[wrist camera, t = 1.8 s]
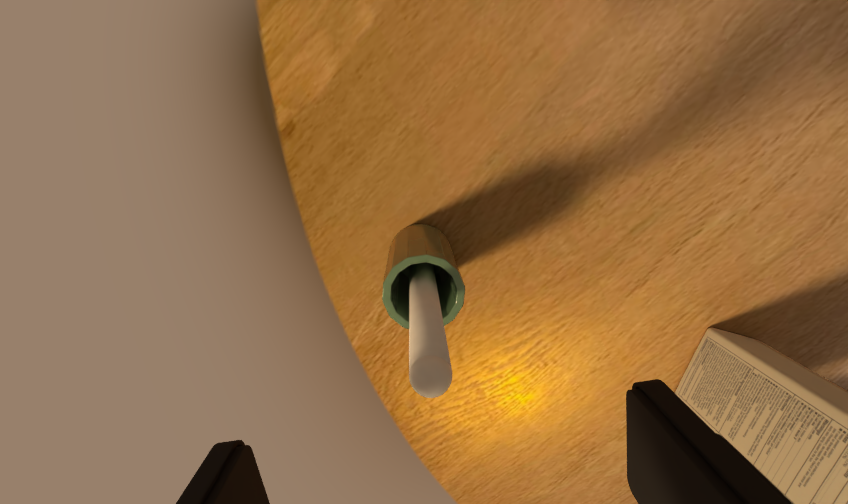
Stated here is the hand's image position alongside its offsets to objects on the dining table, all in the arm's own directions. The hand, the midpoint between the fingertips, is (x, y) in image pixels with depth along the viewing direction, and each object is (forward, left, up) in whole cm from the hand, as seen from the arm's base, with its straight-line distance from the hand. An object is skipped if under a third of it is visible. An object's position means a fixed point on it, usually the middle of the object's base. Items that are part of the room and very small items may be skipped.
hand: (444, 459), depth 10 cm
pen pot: (0, 0, -17) cm, 17 cm away
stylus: (0, 0, -17) cm, 17 cm away
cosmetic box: (+12, +20, -17) cm, 29 cm away
